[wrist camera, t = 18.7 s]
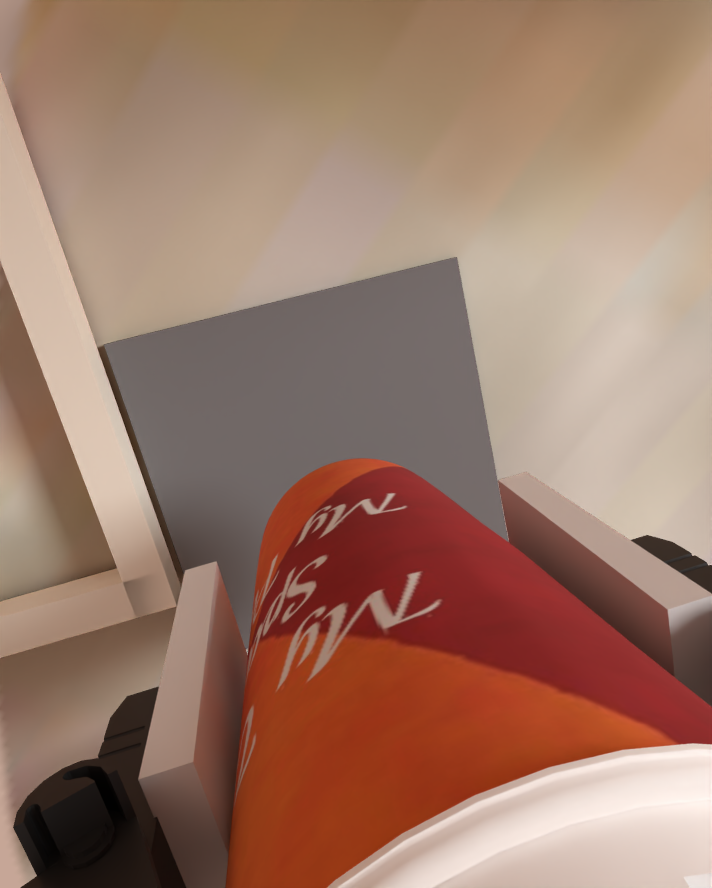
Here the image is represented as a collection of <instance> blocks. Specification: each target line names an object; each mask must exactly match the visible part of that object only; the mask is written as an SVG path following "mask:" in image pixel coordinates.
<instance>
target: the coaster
mask: <svg viewBox="0 0 712 888" xmlns="http://www.w3.org/2000/svg"><path fill="white" fill-rule="evenodd" d="M104 347H105V350H106V352H107V355H108V358H109V361H110V364H111V367H112V370H113V373H114V375H115V378H116V381H117V384H118V387H119V390H120V393H121V396H122V398H123V401H124V404H125V407H126V410H127V413H128V416H129V419H130V421H131V424H132V427H133V430H134V433H135V436H136V439H137V442H138V444H139V447H140V450H141V453H142V456H143V459H144V462H145V465H146V467H147V470H148V473H149V476H150V479H151V482H152V485H153V488H154V490H155V493H156V496H157V499H158V502H159V505H160V508H161V510H162V513H163V516H164V519H165V522H166V525H167V528H168V531H169V533H170V536H171V539H172V542H173V545H174V548H175V551H176V554H177V556H178V559H179V562H180V565H181V568H182V571H183V574H184V573H185V570H188V569H191V568H195V567H198V566H202V565H205V564H209V563H212V562H215V561H217V564H218V567H219V570H220V573H221V576H222V579H223V582H224V585H225V588H226V592H227V595H228V598H229V601H230V604H231V607H232V610H233V613H234V616H235V619H236V622H237V625H238V628H239V631H240V634H241V637H242V640H243V643H244V646H245V649H247V648H249V639H250V629H251V620H252V610H253V601H254V592H255V584H256V575H257V568H258V561H259V554H260V548H261V543H262V539H263V534H264V531H265V528H266V525H267V523H268V520H269V518H270V516H271V514H272V512H273V510H274V509H275V507H276V505H277V504H278V502H279V501H280V499H281V498H282V497H283V496H284V494H285V493H286V492H287V491H288V490H289V489H290V488H291V487H292V486H293V485H294V484H295V483H297V482H298V481H299V480H300V479H302V478H303V477H304V476H306V475H308V474H309V473H311V472H313V471H314V470H316V469H318V468H321V467H323V466H325V465H328V464H331V463H334V462H338V461H342V460H347V459H357V458H368V459H378V460H383V461H387V462H391V463H394V464H397V465H399V466H402V467H404V468H406V469H408V470H410V471H412V472H414V473H415V474H417V475H418V476H420V477H422V478H423V479H425V480H426V481H427V482H429V483H430V484H432V485H433V486H434V487H436V488H437V489H438V490H440V491H441V492H443V493H444V494H445V495H446V496H448V497H449V498H450V499H452V500H453V501H454V502H455V503H457V504H458V505H459V506H461V507H462V508H463V509H464V510H466V511H467V512H468V513H470V514H471V515H472V516H473V517H475V518H476V519H477V520H479V521H480V522H481V523H483V524H484V525H485V526H487V527H488V528H489V529H491V530H492V531H494V532H495V533H496V534H498V535H499V536H500V537H502V538H503V539H505V540H506V541H507V542H508V536H507V531H506V525H505V520H504V514H503V509H502V503H501V498H500V492H499V487H498V481H497V476H496V470H495V464H494V459H493V453H492V448H491V442H490V437H489V431H488V426H487V420H486V415H485V409H484V404H483V398H482V393H481V387H480V382H479V376H478V371H477V365H476V360H475V354H474V349H473V343H472V337H471V332H470V326H469V321H468V315H467V310H466V304H465V299H464V293H463V288H462V282H461V277H460V271H459V266H458V260H457V257H454V258H450V259H446V260H442V261H438V262H434V263H430V264H426V265H422V266H418V267H414V268H410V269H406V270H402V271H398V272H394V273H390V274H386V275H382V276H378V277H374V278H370V279H366V280H362V281H358V282H354V283H350V284H346V285H342V286H337V287H333V288H329V289H325V290H321V291H317V292H313V293H309V294H305V295H301V296H297V297H293V298H289V299H285V300H281V301H277V302H273V303H269V304H265V305H261V306H257V307H253V308H249V309H245V310H241V311H237V312H233V313H229V314H225V315H221V316H217V317H213V318H209V319H205V320H201V321H196V322H192V323H188V324H184V325H180V326H176V327H172V328H168V329H164V330H160V331H156V332H152V333H148V334H144V335H140V336H136V337H132V338H128V339H124V340H120V341H116V342H112V343H108V344H105V345H104Z"/></svg>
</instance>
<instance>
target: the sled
mask: <svg viewBox="0 0 712 888" xmlns="http://www.w3.org/2000/svg"><path fill="white" fill-rule="evenodd" d="M0 261H1V264H2V267H3V269H4V272H5V274H6V277H7V280H8V282H9V285H10V288H11V290H12V293H13V296H14V298H15V301H16V303H17V306H18V309H19V311H20V314H21V317H22V319H23V322H24V324H25V327H26V330H27V332H28V335H29V338H30V340H31V343H32V345H33V348H34V351H35V353H36V356H37V359H38V361H39V364H40V367H41V369H42V372H43V374H44V377H45V380H46V382H47V385H48V388H49V390H50V393H51V395H52V398H53V401H54V403H55V406H56V409H57V411H58V414H59V416H60V419H61V422H62V424H63V427H64V430H65V432H66V435H67V438H68V440H69V443H70V445H71V448H72V451H73V453H74V456H75V459H76V461H77V464H78V466H79V469H80V472H81V474H82V477H83V480H84V482H85V485H86V487H87V490H88V493H89V495H90V498H91V501H92V503H93V506H94V508H95V511H96V514H97V516H98V519H99V522H100V524H101V527H102V530H103V532H104V535H105V537H106V540H107V543H108V545H109V548H110V551H111V553H112V556H113V558H114V561H115V564H116V566H117V568H116V569H112V570H109V571H105V572H102V573H98V574H95V575H91V576H88V577H84V578H81V579H77V580H74V581H70V582H67V583H63V584H60V585H56V586H53V587H49V588H46V589H42V590H38V591H35V592H31V593H28V594H24V595H21V596H17V597H14V598H10V599H7V600H3V601H0V658H2V657H6V656H9V655H13V654H16V653H20V652H23V651H26V650H30V649H33V648H37V647H40V646H43V645H47V644H50V643H54V642H57V641H60V640H64V639H67V638H71V637H74V636H78V635H81V634H84V633H88V632H91V631H95V630H98V629H101V628H105V627H108V626H112V625H115V624H118V623H122V622H125V621H129V620H132V619H136V618H139V617H142V616H146V615H149V614H153V613H156V612H159V611H163V610H166V609H170V608H173V607H176V606H177V604H178V600H179V595H180V591H181V585H180V582H179V579H178V577H177V574H176V571H175V568H174V565H173V562H172V560H171V557H170V554H169V551H168V548H167V545H166V542H165V540H164V537H163V534H162V531H161V528H160V525H159V523H158V520H157V517H156V514H155V511H154V508H153V506H152V503H151V500H150V497H149V494H148V491H147V488H146V486H145V483H144V480H143V477H142V474H141V471H140V469H139V466H138V463H137V460H136V457H135V454H134V451H133V449H132V446H131V443H130V440H129V437H128V434H127V432H126V429H125V426H124V423H123V420H122V417H121V414H120V412H119V409H118V406H117V403H116V400H115V397H114V395H113V392H112V389H111V386H110V383H109V380H108V377H107V375H106V372H105V369H104V366H103V363H102V360H101V358H100V355H99V352H98V349H97V346H96V343H95V340H94V338H93V335H92V332H91V329H90V326H89V323H88V321H87V318H86V315H85V312H84V309H83V306H82V303H81V301H80V298H79V295H78V292H77V289H76V286H75V284H74V281H73V278H72V275H71V272H70V269H69V267H68V264H67V261H66V258H65V255H64V252H63V249H62V247H61V244H60V241H59V238H58V235H57V232H56V230H55V227H54V224H53V221H52V218H51V215H50V212H49V210H48V207H47V204H46V201H45V198H44V195H43V193H42V190H41V187H40V184H39V181H38V178H37V175H36V173H35V170H34V167H33V164H32V161H31V158H30V156H29V153H28V150H27V147H26V144H25V141H24V138H23V136H22V133H21V130H20V127H19V124H18V121H17V119H16V116H15V113H14V110H13V107H12V104H11V101H10V99H9V96H8V93H7V90H6V87H5V84H4V82H3V79H2V76H1V73H0Z"/></svg>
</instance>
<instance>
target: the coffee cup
mask: <svg viewBox="0 0 712 888" xmlns="http://www.w3.org/2000/svg"><path fill="white" fill-rule="evenodd" d="M225 888H712V707H711V706H710V705H709V704H707V703H706V702H705V701H704V700H702V699H701V698H700V697H699V696H697V695H696V694H695V693H694V692H692V691H691V690H690V689H689V688H687V687H686V686H685V685H684V684H682V683H681V682H680V681H679V680H677V679H676V678H675V677H674V676H672V675H671V674H670V673H669V672H667V671H666V670H665V669H664V668H662V667H661V666H660V665H659V664H657V663H656V662H655V661H654V660H652V659H651V658H650V657H649V656H647V655H646V654H645V653H644V652H642V651H641V650H640V649H639V648H637V647H636V646H635V645H634V644H632V643H631V642H630V641H629V640H628V639H626V638H625V637H624V636H623V635H622V634H620V633H619V632H618V631H617V630H616V629H614V628H613V627H612V626H611V625H609V624H608V623H607V622H606V621H605V620H603V619H602V618H601V617H600V616H599V615H597V614H596V613H595V612H594V611H592V610H591V609H590V608H589V607H588V606H586V605H585V604H584V603H583V602H582V601H580V600H579V599H578V598H577V597H576V596H574V595H573V594H572V593H571V592H569V591H568V590H567V589H566V588H565V587H563V586H562V585H561V584H560V583H559V582H557V581H556V580H555V579H554V578H553V577H551V576H550V575H549V574H548V573H546V572H545V571H544V570H543V569H542V568H540V567H539V566H538V565H537V564H536V563H534V562H533V561H532V560H531V559H529V558H528V557H527V556H526V555H525V554H523V553H522V552H521V551H520V550H518V549H517V548H516V547H514V546H513V545H511V544H510V543H509V542H507V541H506V540H505V539H503V538H502V537H500V536H499V535H498V534H496V533H495V532H494V531H492V530H491V529H489V528H488V527H487V526H485V525H484V524H483V523H481V522H480V521H479V520H477V519H476V518H475V517H473V516H472V515H471V514H470V513H468V512H467V511H466V510H464V509H463V508H462V507H461V506H459V505H458V504H457V503H455V502H454V501H453V500H452V499H450V498H449V497H448V496H446V495H445V494H444V493H443V492H441V491H440V490H438V489H437V488H436V487H434V486H433V485H432V484H430V483H429V482H427V481H426V480H425V479H423V478H422V477H420V476H418V475H417V474H415V473H414V472H412V471H410V470H408V469H406V468H404V467H402V466H399V465H397V464H394V463H391V462H387V461H383V460H378V459H368V458H357V459H347V460H342V461H338V462H334V463H331V464H328V465H325V466H323V467H321V468H318V469H316V470H314V471H313V472H311V473H309V474H308V475H306V476H304V477H303V478H302V479H300V480H299V481H298V482H297V483H295V484H294V485H293V486H292V487H291V488H290V489H289V490H288V491H287V492H286V493H285V494H284V496H283V497H282V498H281V499H280V501H279V502H278V504H277V505H276V507H275V509H274V510H273V512H272V514H271V516H270V518H269V520H268V523H267V525H266V528H265V531H264V534H263V539H262V543H261V548H260V554H259V561H258V568H257V575H256V584H255V592H254V601H253V610H252V620H251V629H250V639H249V649H248V659H247V669H246V679H245V689H244V699H243V709H242V719H241V730H240V740H239V750H238V761H237V771H236V782H235V792H234V802H233V813H232V823H231V833H230V844H229V854H228V864H227V874H226V885H225Z"/></svg>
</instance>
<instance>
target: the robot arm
mask: <svg viewBox="0 0 712 888" xmlns="http://www.w3.org/2000/svg"><path fill="white" fill-rule="evenodd" d="M498 483H499V488H500V494H501V500H502V505H503V511H504V516H505V522H506V527H507V533H508V538H509V543H510V544H511V545H513V546H514V547H516V548H517V549H518V550H520V551H521V552H522V553H523V554H525V555H526V556H527V557H528V558H529V559H531V560H532V561H533V562H534V563H536V564H537V565H538V566H539V567H540V568H542V569H543V570H544V571H545V572H546V573H548V574H549V575H550V576H551V577H553V578H554V579H555V580H556V581H557V582H559V583H560V584H561V585H562V586H563V587H565V588H566V589H567V590H568V591H569V592H571V593H572V594H573V595H574V596H576V597H577V598H578V599H579V600H580V601H582V602H583V603H584V604H585V605H586V606H588V607H589V608H590V609H591V610H592V611H594V612H595V613H596V614H597V615H599V616H600V617H601V618H602V619H603V620H605V621H606V622H607V623H608V624H609V625H611V626H612V627H613V628H614V629H616V630H617V631H618V632H619V633H620V634H622V635H623V636H624V637H625V638H626V639H628V640H629V641H630V642H631V643H632V644H634V645H635V646H636V647H637V648H639V649H640V650H641V651H642V652H644V653H645V654H646V655H647V656H649V657H650V658H651V659H652V660H654V661H655V662H656V663H657V664H659V665H660V666H661V667H662V668H664V669H665V670H666V671H667V672H669V673H670V674H671V675H672V676H674V677H675V678H676V679H677V680H679V681H680V682H681V683H682V684H684V685H685V686H686V687H687V688H689V689H690V690H691V691H692V692H694V693H695V694H696V695H697V696H699V697H700V698H701V699H702V700H704V701H705V702H706V703H707V704H709V705H710V706H711V707H712V565H709V566H708V564H707V562H705V561H704V560H702V559H700V558H698V557H697V556H692V554H691V553H690V552H688V551H687V550H685V549H683V548H682V547H680V546H678V545H677V544H675V543H673V542H671V541H667V540H663V539H660V538H656V537H652V536H649V535H646V536H643V537H639V538H636V539H633V540H629V539H628V538H626V537H625V536H623V535H622V534H620V533H619V532H617V531H616V530H614V529H612V528H611V527H609V526H608V525H606V524H605V523H603V522H602V521H600V520H599V519H597V518H596V517H594V516H593V515H591V514H590V513H588V512H587V511H585V510H584V509H582V508H580V507H579V506H577V505H576V504H574V503H573V502H571V501H570V500H568V499H567V498H565V497H564V496H562V495H561V494H559V493H558V492H556V491H555V490H553V489H552V488H550V487H549V486H547V485H545V484H544V483H542V482H541V481H539V480H538V479H536V478H535V477H533V476H532V475H530V474H529V473H527V472H524V473H520V474H517V475H513V476H510V477H506V478H503V479H500V480H498ZM247 659H248V655H247V652H246V649H245V646H244V643H243V640H242V637H241V634H240V631H239V628H238V625H237V622H236V619H235V616H234V613H233V610H232V607H231V604H230V601H229V598H228V595H227V592H226V588H225V585H224V582H223V579H222V576H221V573H220V570H219V567H218V564H217V561H215V562H212V563H209V564H205V565H202V566H198V567H195V568H191V569H188V570H185V573H184V578H183V582H182V587H181V591H180V596H179V600H178V604H177V609H176V613H175V618H174V622H173V627H172V631H171V636H170V640H169V645H168V649H167V653H166V658H165V662H164V667H163V671H162V676H161V680H160V685H159V687H156V688H153V689H149V690H146V691H143V692H140V693H136V694H133V695H130V696H127V697H126V698H125V700H124V701H123V702H122V704H121V705H120V706H119V707H118V709H117V710H116V711H115V713H114V714H113V715H112V716H111V718H110V721H109V724H108V727H107V730H106V733H105V736H104V742H103V743H102V746H101V749H100V752H99V755H98V757H99V759H98V758H97V759H90V760H84V761H80V762H77V763H75V764H73V765H70V766H68V767H66V768H63V769H61V770H60V771H58V772H57V773H55V774H54V775H52V776H51V777H49V778H48V779H46V780H45V781H43V782H42V783H41V784H40V785H39V786H38V787H37V788H36V789H35V790H34V791H33V792H32V793H31V794H30V795H29V796H28V797H27V798H26V800H25V801H24V803H23V804H22V806H21V807H20V809H19V810H18V812H17V814H16V818H15V822H14V827H13V828H14V830H15V832H16V834H17V836H18V838H19V840H20V842H21V844H22V846H23V848H24V850H25V852H26V854H27V856H28V858H29V860H30V862H31V864H32V866H33V868H34V870H35V872H36V874H37V876H36V877H35V878H34V879H32V880H31V881H29V882H28V883H27V884H25V885H24V886H22V887H21V888H225V885H226V874H227V864H228V854H229V844H230V833H231V823H232V813H233V802H234V792H235V782H236V771H237V761H238V750H239V740H240V730H241V719H242V709H243V699H244V689H245V679H246V669H247Z"/></svg>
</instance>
